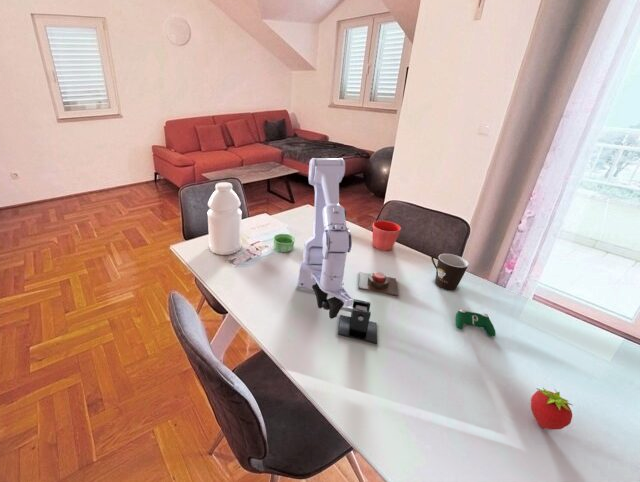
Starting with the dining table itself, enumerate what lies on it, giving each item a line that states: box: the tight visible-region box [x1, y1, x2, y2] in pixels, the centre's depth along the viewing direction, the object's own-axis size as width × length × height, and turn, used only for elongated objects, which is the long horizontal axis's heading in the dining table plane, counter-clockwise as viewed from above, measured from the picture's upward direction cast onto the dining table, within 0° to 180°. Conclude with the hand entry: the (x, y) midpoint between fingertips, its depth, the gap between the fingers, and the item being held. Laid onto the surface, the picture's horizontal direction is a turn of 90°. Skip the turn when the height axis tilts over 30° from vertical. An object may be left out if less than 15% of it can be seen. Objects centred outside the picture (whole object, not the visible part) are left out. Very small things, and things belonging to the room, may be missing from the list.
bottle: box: [206, 181, 243, 256], centre depth 128 cm, size 14×14×28 cm
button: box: [373, 271, 386, 282], centre depth 107 cm, size 4×4×2 cm
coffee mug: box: [431, 253, 470, 292], centre depth 108 cm, size 12×9×10 cm
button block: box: [358, 271, 399, 297], centre depth 107 cm, size 12×10×3 cm
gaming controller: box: [455, 309, 496, 337], centre depth 89 cm, size 9×4×6 cm
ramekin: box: [272, 233, 296, 253], centre depth 131 cm, size 9×9×4 cm
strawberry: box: [530, 387, 573, 431], centre depth 62 cm, size 6×8×10 cm
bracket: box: [337, 298, 378, 345], centre depth 87 cm, size 10×8×9 cm
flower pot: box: [372, 220, 402, 251], centre depth 132 cm, size 11×11×10 cm
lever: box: [322, 298, 367, 313], centre depth 87 cm, size 12×3×3 cm, turn 70°
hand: (327, 311), depth 89 cm, fingers open, 4 cm apart
